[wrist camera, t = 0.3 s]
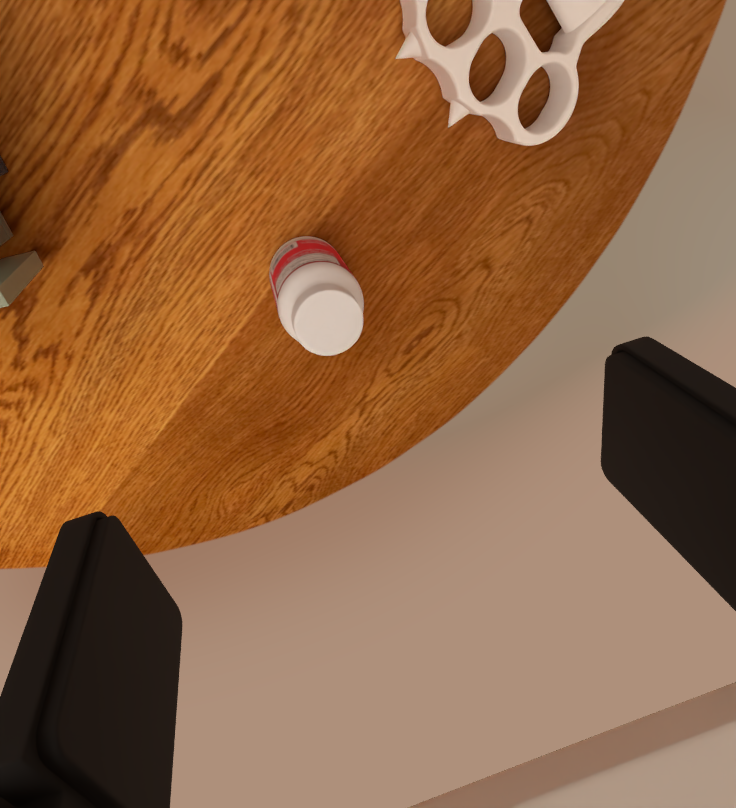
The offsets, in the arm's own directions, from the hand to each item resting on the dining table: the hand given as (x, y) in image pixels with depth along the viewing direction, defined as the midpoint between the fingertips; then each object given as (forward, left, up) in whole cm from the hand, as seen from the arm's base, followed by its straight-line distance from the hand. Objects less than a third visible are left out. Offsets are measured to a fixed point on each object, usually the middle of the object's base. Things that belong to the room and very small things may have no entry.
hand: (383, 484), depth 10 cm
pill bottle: (+8, +2, -36) cm, 37 cm away
